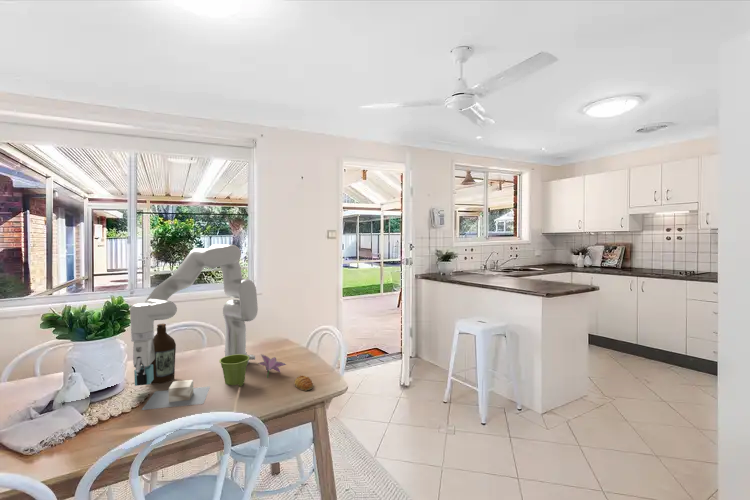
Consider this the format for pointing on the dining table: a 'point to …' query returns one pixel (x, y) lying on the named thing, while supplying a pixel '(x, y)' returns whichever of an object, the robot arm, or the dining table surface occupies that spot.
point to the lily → (271, 363)
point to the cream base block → (180, 390)
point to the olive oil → (163, 356)
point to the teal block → (149, 374)
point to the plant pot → (234, 368)
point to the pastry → (303, 383)
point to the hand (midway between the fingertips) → (144, 381)
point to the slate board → (162, 401)
